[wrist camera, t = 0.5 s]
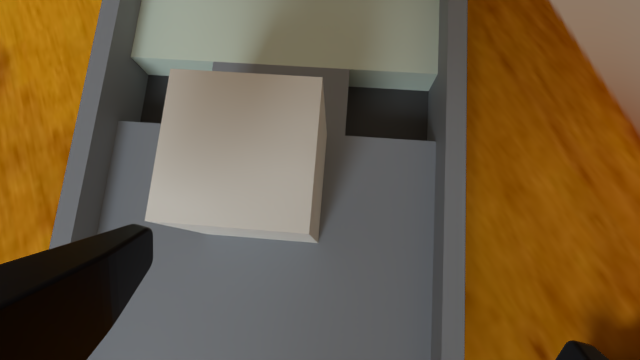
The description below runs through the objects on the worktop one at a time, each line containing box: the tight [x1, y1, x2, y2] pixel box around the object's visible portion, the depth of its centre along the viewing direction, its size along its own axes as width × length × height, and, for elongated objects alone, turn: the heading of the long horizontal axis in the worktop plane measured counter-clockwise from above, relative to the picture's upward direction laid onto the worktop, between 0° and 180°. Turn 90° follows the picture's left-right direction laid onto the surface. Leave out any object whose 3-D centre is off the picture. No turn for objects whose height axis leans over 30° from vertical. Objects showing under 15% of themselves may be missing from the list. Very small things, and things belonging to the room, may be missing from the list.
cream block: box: [145, 69, 327, 243], centre depth 18 cm, size 6×6×7 cm
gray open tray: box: [49, 0, 467, 360], centre depth 22 cm, size 26×20×5 cm
